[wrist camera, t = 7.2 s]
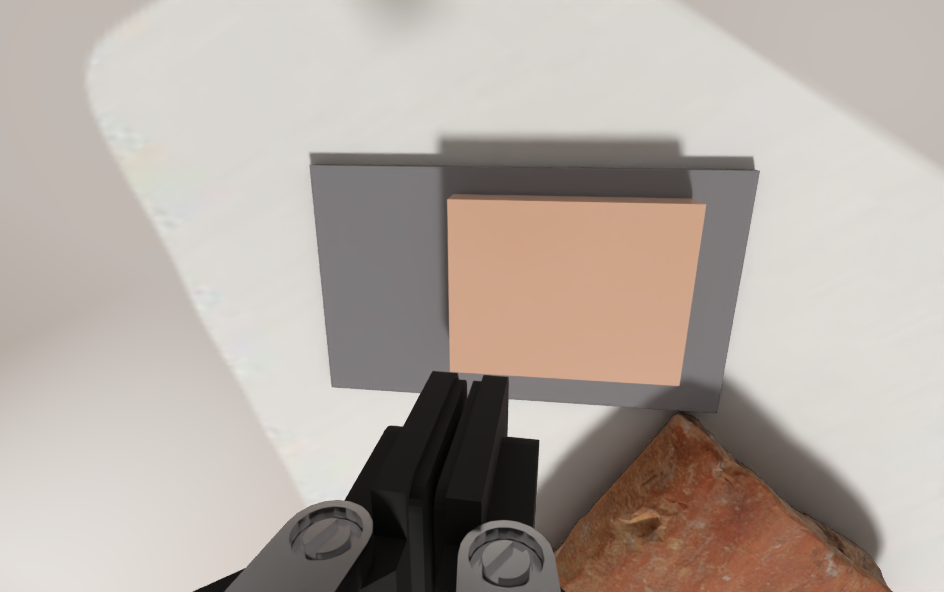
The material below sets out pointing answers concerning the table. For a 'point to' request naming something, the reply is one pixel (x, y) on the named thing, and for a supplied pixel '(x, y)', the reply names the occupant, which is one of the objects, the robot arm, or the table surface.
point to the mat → (427, 286)
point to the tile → (572, 285)
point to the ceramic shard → (704, 530)
